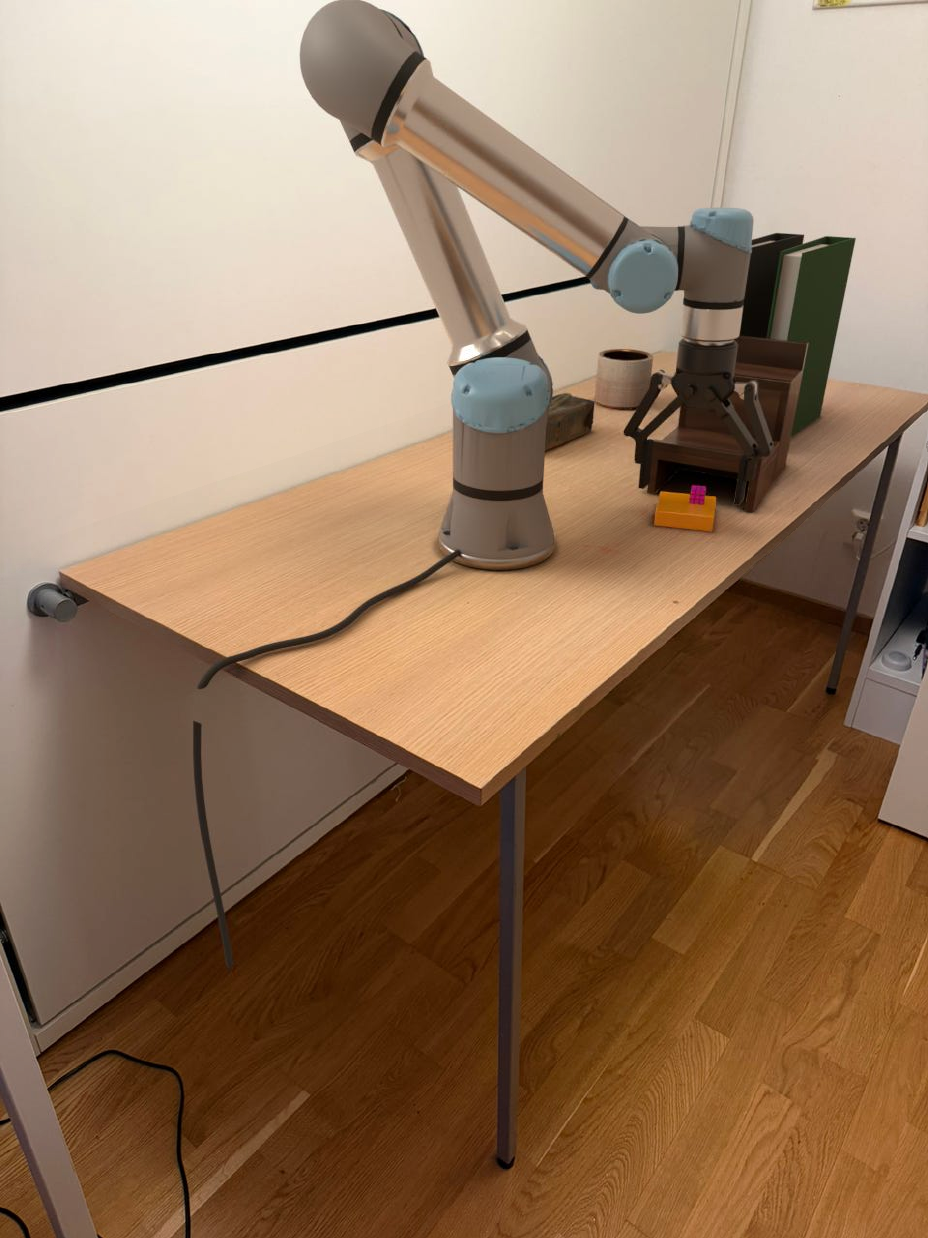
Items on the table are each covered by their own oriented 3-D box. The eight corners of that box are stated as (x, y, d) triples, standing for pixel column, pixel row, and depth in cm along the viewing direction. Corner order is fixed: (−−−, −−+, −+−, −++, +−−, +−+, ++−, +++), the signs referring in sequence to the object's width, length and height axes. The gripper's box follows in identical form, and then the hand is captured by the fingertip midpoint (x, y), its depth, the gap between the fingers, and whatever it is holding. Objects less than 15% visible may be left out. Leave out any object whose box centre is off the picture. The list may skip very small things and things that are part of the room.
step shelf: (752, 512, 130) (776, 373, 120) (646, 492, 136) (661, 360, 127) (785, 466, 147) (808, 342, 138) (690, 450, 154) (706, 331, 144)
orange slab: (712, 532, 123) (716, 503, 121) (653, 525, 125) (657, 497, 123) (714, 511, 130) (718, 483, 128) (658, 505, 132) (661, 477, 130)
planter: (584, 399, 183) (587, 351, 178) (628, 393, 187) (633, 346, 182) (613, 412, 174) (617, 363, 170) (659, 406, 178) (665, 357, 174)
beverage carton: (594, 432, 163) (597, 396, 160) (533, 459, 150) (535, 420, 147) (558, 423, 167) (560, 388, 164) (496, 449, 154) (496, 411, 151)
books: (773, 453, 153) (808, 253, 137) (691, 437, 160) (716, 246, 145) (819, 416, 172) (855, 237, 157) (745, 404, 180) (772, 232, 164)
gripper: (814, 342, 113) (786, 499, 123) (627, 325, 124) (615, 471, 134) (802, 354, 107) (774, 518, 118) (607, 335, 118) (597, 487, 128)
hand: (690, 493), depth 126 cm, fingers open, 13 cm apart
